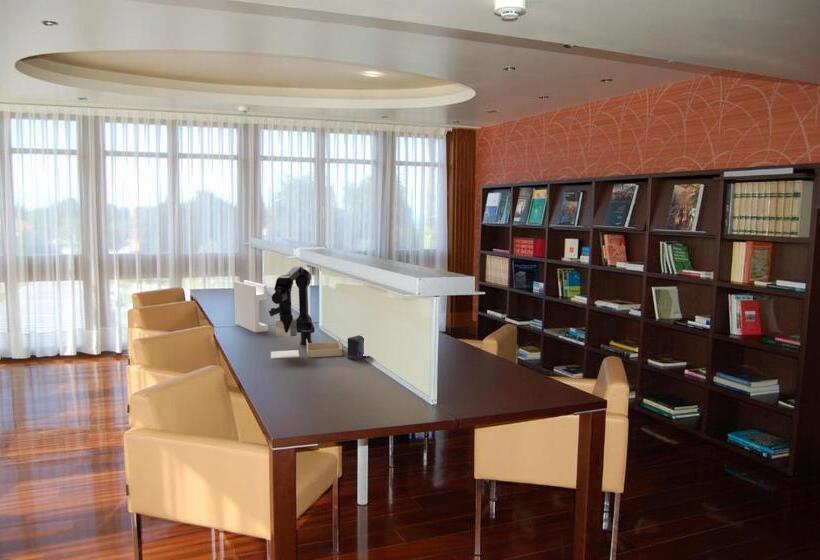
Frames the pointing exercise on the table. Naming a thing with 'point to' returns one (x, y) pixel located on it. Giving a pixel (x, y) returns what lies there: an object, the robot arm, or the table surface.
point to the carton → (325, 349)
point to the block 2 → (281, 330)
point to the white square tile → (284, 354)
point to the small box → (356, 347)
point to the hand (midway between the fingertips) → (286, 331)
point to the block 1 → (249, 305)
